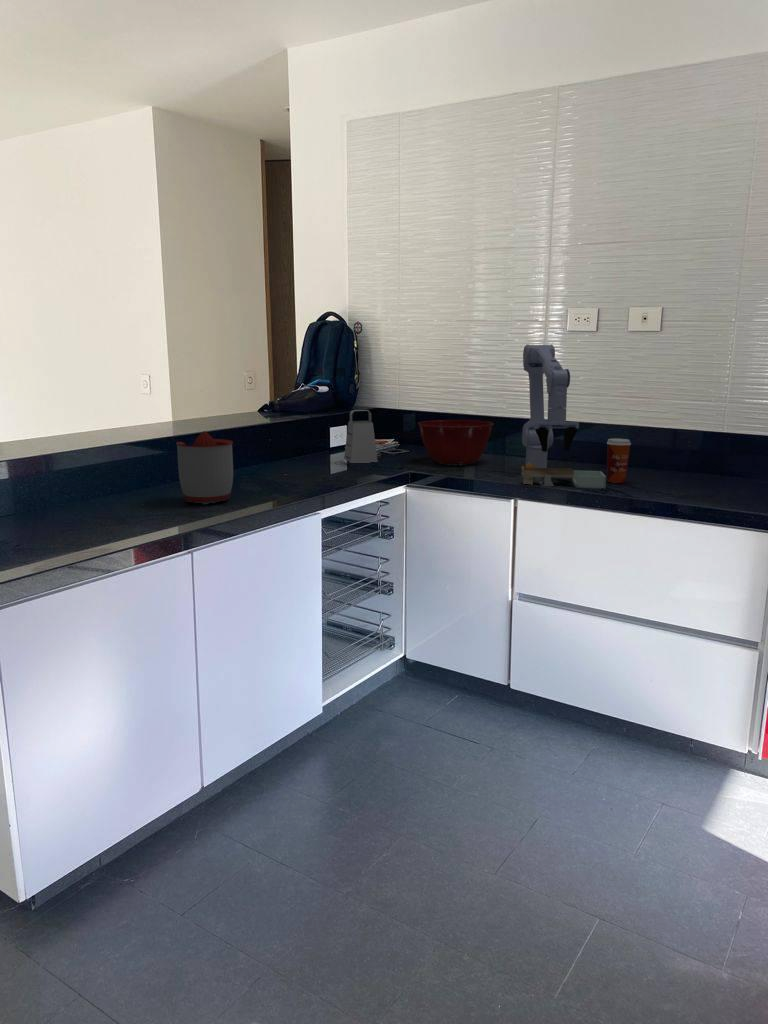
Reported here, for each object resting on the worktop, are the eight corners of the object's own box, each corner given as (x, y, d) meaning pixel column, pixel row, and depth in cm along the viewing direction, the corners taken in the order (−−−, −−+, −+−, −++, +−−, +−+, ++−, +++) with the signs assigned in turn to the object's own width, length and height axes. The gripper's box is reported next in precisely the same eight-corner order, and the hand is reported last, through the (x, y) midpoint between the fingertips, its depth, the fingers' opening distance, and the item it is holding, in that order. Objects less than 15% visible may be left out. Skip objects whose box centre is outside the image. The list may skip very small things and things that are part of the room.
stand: (539, 481, 245) (539, 470, 244) (551, 482, 244) (552, 470, 243) (541, 486, 237) (541, 474, 236) (553, 486, 236) (554, 474, 236)
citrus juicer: (208, 493, 224) (205, 426, 220) (246, 500, 214) (244, 430, 209) (164, 501, 213) (159, 431, 208) (202, 509, 202) (198, 435, 198)
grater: (343, 462, 284) (343, 409, 280) (370, 461, 287) (370, 409, 283) (350, 466, 274) (350, 411, 270) (378, 465, 277) (378, 411, 273)
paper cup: (612, 484, 240) (615, 441, 237) (599, 480, 247) (602, 438, 244) (633, 483, 242) (636, 440, 239) (620, 479, 249) (623, 437, 246)
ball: (524, 471, 242) (524, 462, 241) (534, 472, 242) (534, 462, 241) (524, 473, 239) (525, 463, 238) (535, 473, 239) (535, 463, 238)
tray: (572, 481, 245) (572, 470, 244) (600, 482, 244) (601, 471, 243) (576, 488, 234) (576, 476, 233) (605, 488, 233) (606, 476, 232)
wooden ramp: (519, 478, 251) (520, 462, 250) (569, 479, 249) (570, 464, 248) (521, 484, 239) (522, 469, 238) (573, 486, 237) (574, 470, 236)
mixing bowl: (404, 460, 290) (404, 420, 286) (467, 456, 301) (468, 417, 298) (439, 471, 265) (440, 427, 261) (507, 466, 276) (508, 424, 273)
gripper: (540, 408, 229) (539, 452, 231) (584, 408, 232) (582, 451, 234) (531, 408, 236) (530, 451, 238) (573, 408, 239) (572, 450, 241)
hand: (555, 451), depth 237 cm, fingers open, 7 cm apart
